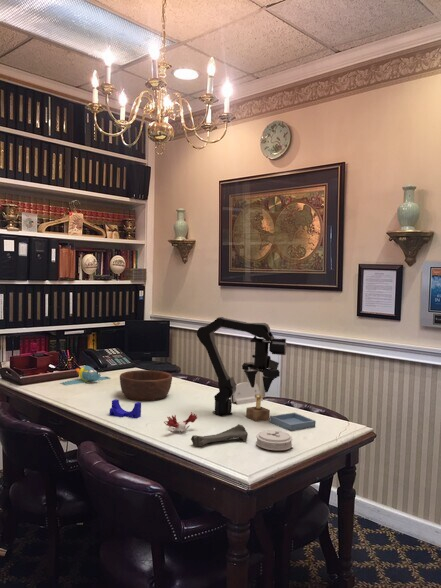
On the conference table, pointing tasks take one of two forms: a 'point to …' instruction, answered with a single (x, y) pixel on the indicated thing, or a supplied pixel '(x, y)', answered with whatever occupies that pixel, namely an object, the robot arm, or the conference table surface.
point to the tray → (292, 421)
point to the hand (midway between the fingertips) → (259, 389)
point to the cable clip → (119, 412)
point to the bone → (221, 436)
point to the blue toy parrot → (86, 376)
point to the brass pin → (258, 401)
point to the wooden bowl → (145, 384)
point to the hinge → (245, 393)
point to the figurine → (179, 423)
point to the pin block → (257, 414)
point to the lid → (274, 440)
